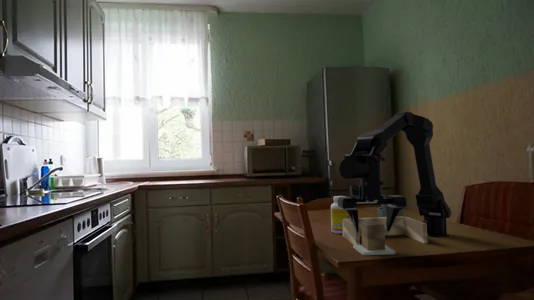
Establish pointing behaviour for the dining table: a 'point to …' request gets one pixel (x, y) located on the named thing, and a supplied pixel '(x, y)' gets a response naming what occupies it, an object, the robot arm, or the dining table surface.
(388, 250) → the tile
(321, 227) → the dining table surface
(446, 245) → the dining table surface
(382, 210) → the mortar and pestle
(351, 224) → the wooden u-shaped frame
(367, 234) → the block
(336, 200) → the supplement bottle
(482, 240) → the dining table surface
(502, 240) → the dining table surface
